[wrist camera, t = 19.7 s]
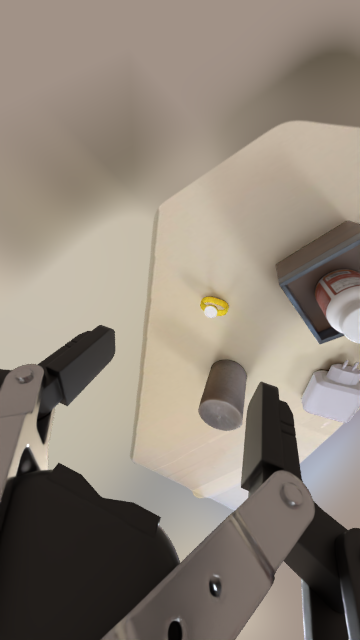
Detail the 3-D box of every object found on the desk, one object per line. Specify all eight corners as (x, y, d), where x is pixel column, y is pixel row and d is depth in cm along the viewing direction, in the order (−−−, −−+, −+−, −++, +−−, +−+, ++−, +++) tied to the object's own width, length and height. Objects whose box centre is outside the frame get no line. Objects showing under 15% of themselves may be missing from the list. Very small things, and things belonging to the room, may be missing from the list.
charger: (374, 359, 42) (343, 407, 50) (323, 348, 45) (300, 396, 52) (386, 375, 39) (349, 424, 46) (329, 362, 41) (303, 411, 49)
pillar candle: (208, 380, 61) (194, 426, 48) (213, 354, 56) (199, 398, 43) (242, 391, 58) (236, 442, 46) (251, 365, 53) (247, 415, 41)
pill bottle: (341, 314, 32) (371, 359, 23) (304, 296, 33) (320, 333, 24) (377, 280, 29) (429, 317, 20) (335, 260, 29) (367, 287, 20)
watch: (231, 299, 47) (227, 311, 42) (227, 310, 48) (223, 322, 43) (205, 291, 48) (199, 301, 43) (203, 302, 49) (196, 313, 44)
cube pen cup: (275, 264, 40) (279, 284, 31) (347, 220, 34) (378, 228, 24) (307, 312, 42) (319, 344, 33) (380, 279, 36) (421, 308, 27)
